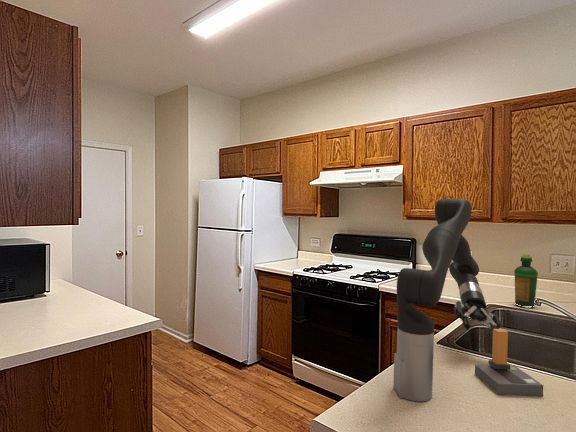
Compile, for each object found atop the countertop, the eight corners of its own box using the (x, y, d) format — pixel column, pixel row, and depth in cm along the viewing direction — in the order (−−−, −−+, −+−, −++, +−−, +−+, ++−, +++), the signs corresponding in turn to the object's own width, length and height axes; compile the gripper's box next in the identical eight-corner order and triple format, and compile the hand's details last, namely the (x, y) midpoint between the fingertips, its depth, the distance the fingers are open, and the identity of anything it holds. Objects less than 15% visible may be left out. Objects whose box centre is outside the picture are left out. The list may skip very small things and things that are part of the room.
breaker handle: (495, 368, 106) (496, 332, 106) (488, 363, 109) (489, 328, 109) (510, 369, 106) (511, 332, 106) (503, 364, 109) (504, 328, 109)
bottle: (509, 303, 201) (511, 252, 200) (531, 304, 199) (533, 253, 198) (517, 308, 190) (519, 255, 190) (540, 309, 188) (542, 256, 188)
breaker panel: (498, 394, 97) (498, 383, 97) (474, 373, 110) (475, 364, 110) (543, 396, 97) (543, 384, 97) (514, 375, 110) (514, 365, 110)
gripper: (456, 284, 128) (464, 317, 115) (497, 296, 127) (510, 331, 114) (447, 298, 133) (454, 332, 119) (486, 310, 131) (498, 346, 118)
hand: (481, 332), depth 116 cm, fingers open, 8 cm apart
